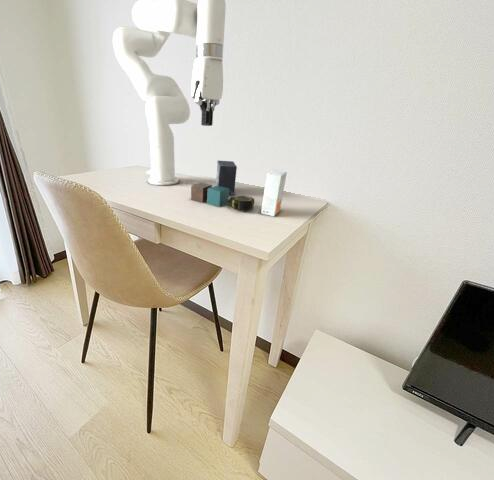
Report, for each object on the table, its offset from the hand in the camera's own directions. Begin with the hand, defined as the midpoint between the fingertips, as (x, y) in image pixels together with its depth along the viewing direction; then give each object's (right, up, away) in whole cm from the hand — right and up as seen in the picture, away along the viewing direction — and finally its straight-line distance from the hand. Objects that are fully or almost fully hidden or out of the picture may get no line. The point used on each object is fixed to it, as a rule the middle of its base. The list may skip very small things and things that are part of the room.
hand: (206, 125), depth 81 cm
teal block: (+4, -24, +4) cm, 25 cm away
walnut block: (-1, -22, +7) cm, 23 cm away
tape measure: (+10, -27, 0) cm, 29 cm away
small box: (+8, -18, +16) cm, 25 cm away
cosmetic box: (+19, -28, -3) cm, 34 cm away
